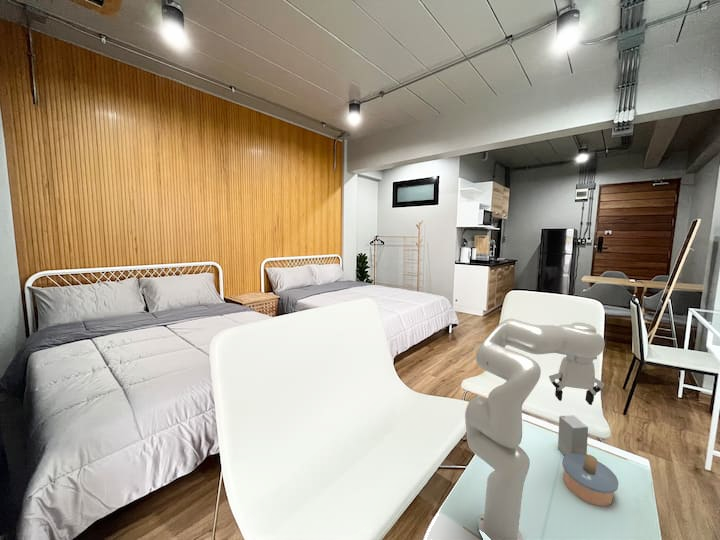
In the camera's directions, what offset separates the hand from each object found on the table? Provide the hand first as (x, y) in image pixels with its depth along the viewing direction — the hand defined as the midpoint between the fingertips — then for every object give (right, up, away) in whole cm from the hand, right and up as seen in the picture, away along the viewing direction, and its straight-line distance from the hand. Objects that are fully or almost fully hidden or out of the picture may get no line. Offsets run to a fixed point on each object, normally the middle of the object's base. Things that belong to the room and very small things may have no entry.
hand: (573, 400), depth 107 cm
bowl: (+5, -32, -1) cm, 32 cm away
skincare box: (+9, -30, +15) cm, 34 cm away
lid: (+5, -26, -2) cm, 26 cm away
